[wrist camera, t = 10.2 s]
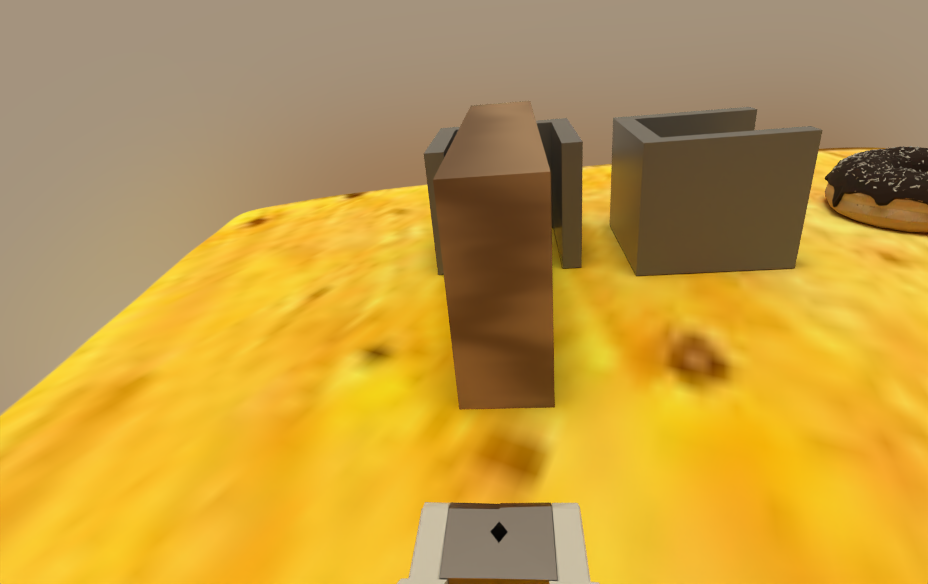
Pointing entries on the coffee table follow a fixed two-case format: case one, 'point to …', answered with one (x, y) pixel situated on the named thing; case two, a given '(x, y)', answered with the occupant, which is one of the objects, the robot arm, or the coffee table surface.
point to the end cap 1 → (565, 185)
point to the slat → (498, 258)
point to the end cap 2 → (709, 191)
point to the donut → (882, 188)
